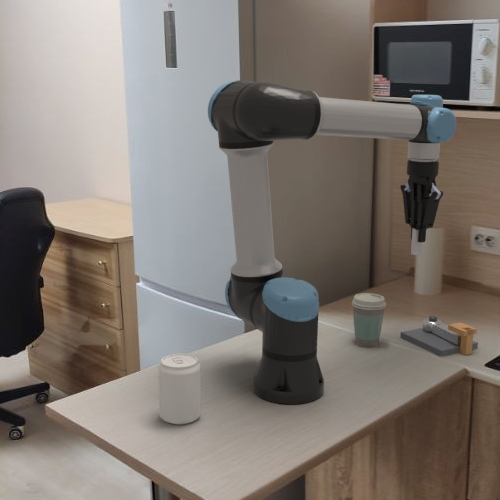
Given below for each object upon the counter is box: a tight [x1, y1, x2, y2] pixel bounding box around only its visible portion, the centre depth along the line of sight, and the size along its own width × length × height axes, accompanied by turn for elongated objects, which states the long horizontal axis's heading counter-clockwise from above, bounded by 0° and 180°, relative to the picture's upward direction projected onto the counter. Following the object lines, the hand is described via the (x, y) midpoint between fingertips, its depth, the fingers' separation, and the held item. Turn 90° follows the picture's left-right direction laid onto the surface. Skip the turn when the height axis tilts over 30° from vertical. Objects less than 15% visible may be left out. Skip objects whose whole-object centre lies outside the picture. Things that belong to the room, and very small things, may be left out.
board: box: [399, 327, 479, 357], centre depth 194 cm, size 12×15×2 cm
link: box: [422, 315, 461, 345], centre depth 194 cm, size 14×5×3 cm, turn 25°
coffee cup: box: [351, 292, 387, 348], centre depth 192 cm, size 8×8×12 cm
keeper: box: [448, 322, 478, 356], centre depth 188 cm, size 4×6×6 cm
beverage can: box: [158, 353, 202, 425], centre depth 150 cm, size 8×8×12 cm
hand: (417, 253), depth 191 cm, fingers closed
